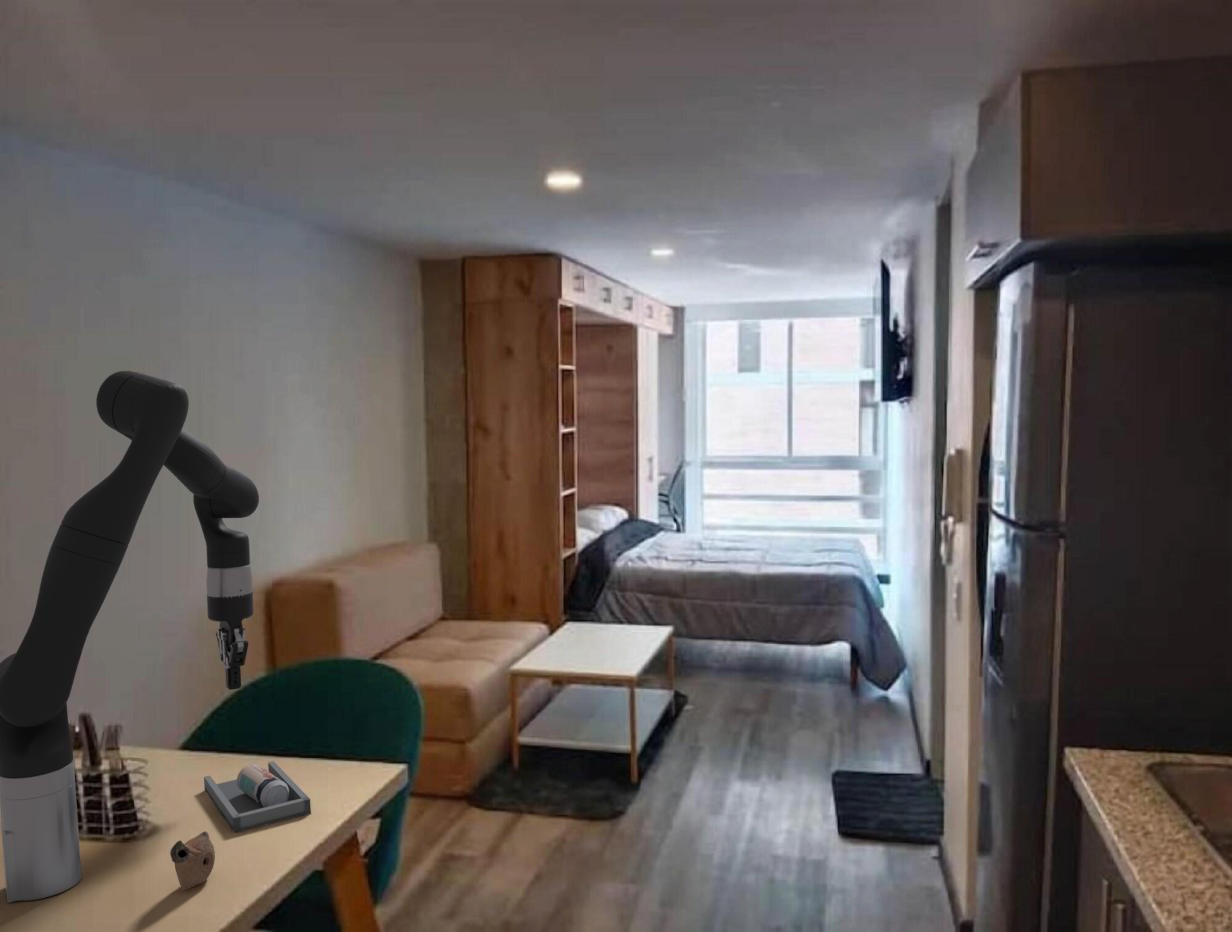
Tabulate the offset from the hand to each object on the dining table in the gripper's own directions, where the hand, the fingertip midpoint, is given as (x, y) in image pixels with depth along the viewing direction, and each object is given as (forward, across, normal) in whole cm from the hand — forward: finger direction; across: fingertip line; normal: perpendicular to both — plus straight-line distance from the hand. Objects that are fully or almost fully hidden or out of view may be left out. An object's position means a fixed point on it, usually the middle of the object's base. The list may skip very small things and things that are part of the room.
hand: (233, 688), depth 174 cm
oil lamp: (+18, -36, +15) cm, 43 cm away
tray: (+17, -10, 0) cm, 20 cm away
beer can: (+14, -6, 0) cm, 16 cm away
